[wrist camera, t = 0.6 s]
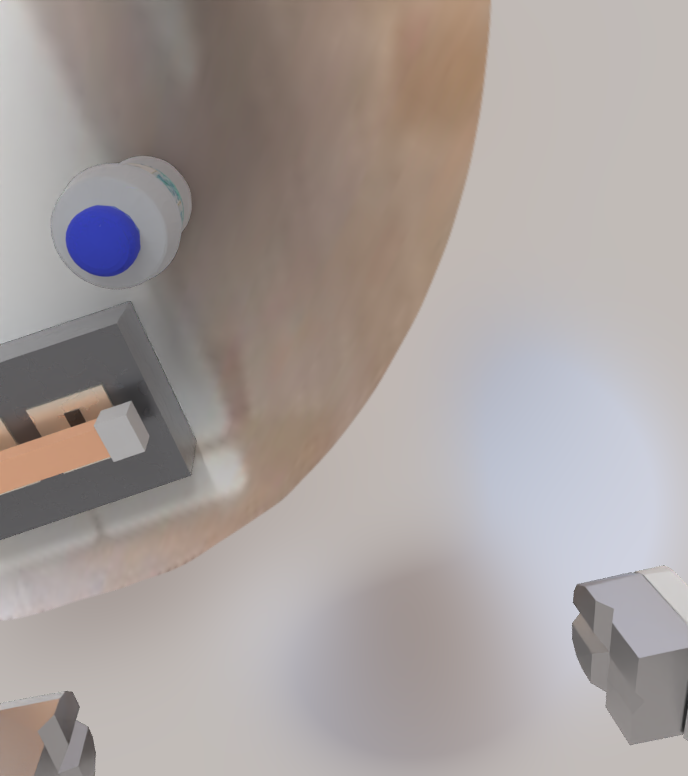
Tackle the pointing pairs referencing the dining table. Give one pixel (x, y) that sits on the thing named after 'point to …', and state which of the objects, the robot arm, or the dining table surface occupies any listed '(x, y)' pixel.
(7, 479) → the swing arm
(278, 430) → the dining table surface
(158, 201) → the bottle
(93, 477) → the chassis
